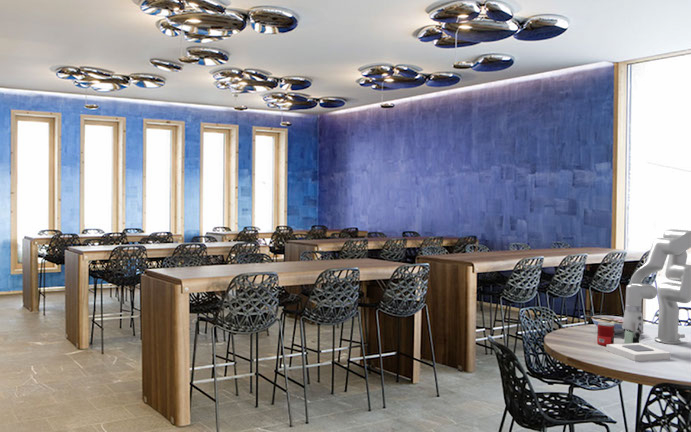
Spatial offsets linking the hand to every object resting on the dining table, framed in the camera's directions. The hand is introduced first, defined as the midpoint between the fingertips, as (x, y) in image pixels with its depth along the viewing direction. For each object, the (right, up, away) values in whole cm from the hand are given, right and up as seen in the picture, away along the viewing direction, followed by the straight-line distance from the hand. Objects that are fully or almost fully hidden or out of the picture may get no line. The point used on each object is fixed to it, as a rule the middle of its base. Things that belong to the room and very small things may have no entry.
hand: (631, 343), depth 327 cm
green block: (0, -1, 0) cm, 1 cm away
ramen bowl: (+3, 0, +31) cm, 31 cm away
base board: (-6, -2, -19) cm, 20 cm away
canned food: (-14, -1, +1) cm, 14 cm away
